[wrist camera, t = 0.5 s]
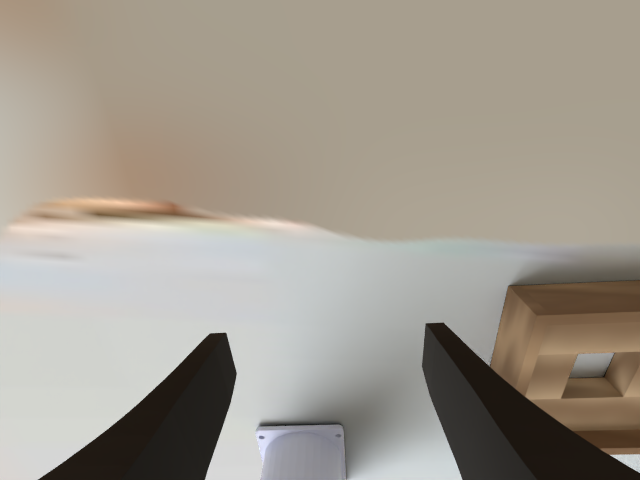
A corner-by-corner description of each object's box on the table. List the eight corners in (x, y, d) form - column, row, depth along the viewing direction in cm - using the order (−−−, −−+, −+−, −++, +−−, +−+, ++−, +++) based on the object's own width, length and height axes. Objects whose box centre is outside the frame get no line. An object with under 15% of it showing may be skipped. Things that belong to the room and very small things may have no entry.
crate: (642, 414, 27) (681, 453, 24) (478, 418, 27) (496, 456, 24) (720, 276, 21) (784, 305, 18) (508, 286, 21) (536, 315, 18)
